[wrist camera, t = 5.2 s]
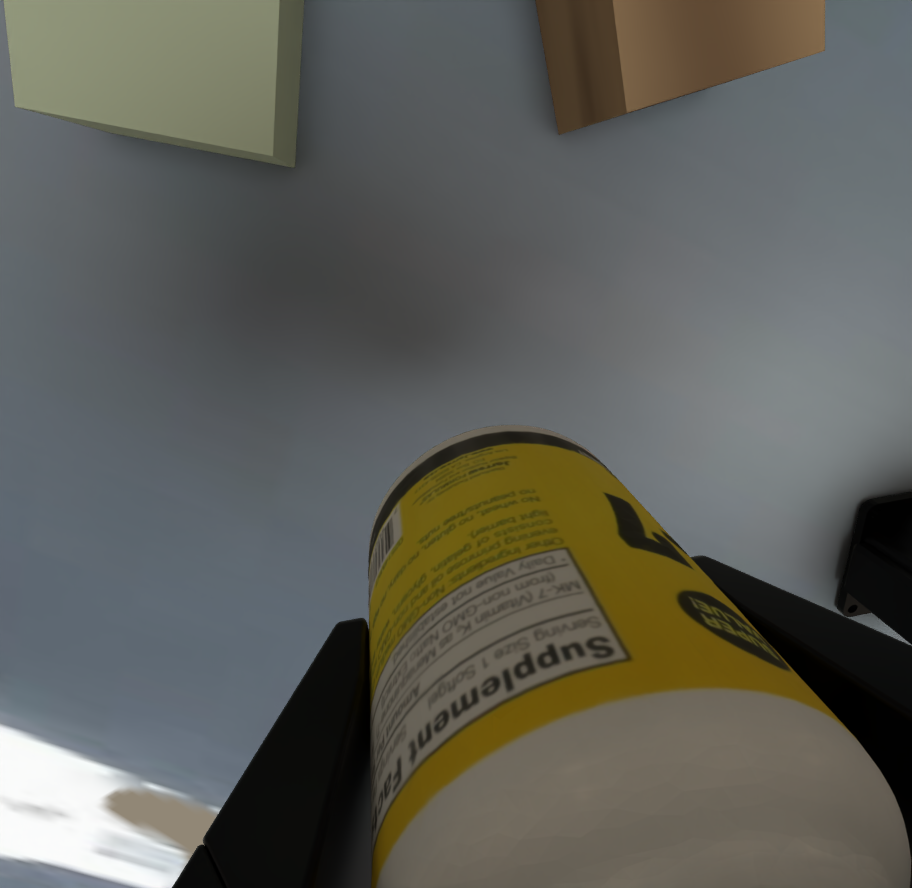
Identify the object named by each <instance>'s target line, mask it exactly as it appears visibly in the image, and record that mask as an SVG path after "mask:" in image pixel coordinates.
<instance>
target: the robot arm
mask: <svg viewBox="0 0 912 888" xmlns="http://www.w3.org/2000/svg"><path fill="white" fill-rule="evenodd" d="M690 558H691V559H692V560H693V561H694V562H695V563H696V564H697V565H698V566H699V567H700V569H701V570H702V571H703V572H704V573H705V574H706V575H707V576H708V577H709V578H710V579H711V580H712V581H713V583H714V584H715V585H716V586H717V587H718V588H719V589H720V590H721V592H722V593H723V594H724V595H725V596H726V597H727V598H728V599H729V600H730V601H731V602H732V603H733V604H734V605H735V606H736V607H737V609H738V610H739V611H740V612H741V613H742V614H743V615H744V617H745V618H746V619H747V620H748V621H749V622H750V623H751V624H752V626H753V627H754V628H755V629H756V630H757V631H758V632H759V633H760V634H761V636H762V637H763V638H764V639H765V640H766V641H767V642H768V643H769V644H770V645H771V646H772V647H773V648H774V649H775V650H776V651H777V652H778V653H779V654H780V656H781V657H782V658H783V659H784V660H785V661H786V662H787V663H788V665H789V666H790V667H791V668H792V669H793V670H794V671H795V672H796V673H797V674H798V676H799V677H800V678H801V679H802V680H803V681H804V682H805V683H806V684H807V685H808V686H809V687H810V689H811V690H812V691H813V692H814V693H815V694H816V695H817V696H818V697H819V698H820V699H821V701H822V702H823V703H824V704H825V705H826V706H827V707H828V708H829V709H830V710H831V711H832V712H833V714H834V715H835V716H836V717H837V718H838V719H839V720H840V721H841V722H842V723H843V724H844V725H845V727H846V728H847V729H848V730H849V731H850V732H851V733H852V734H853V735H854V736H855V738H856V739H857V740H858V741H859V743H860V744H861V745H862V747H863V748H864V749H865V751H866V752H867V753H868V755H869V756H870V757H871V759H872V760H873V761H874V763H875V764H876V765H877V767H878V768H879V769H880V771H881V773H882V774H883V776H884V778H885V779H886V781H887V783H888V784H889V786H890V788H891V790H892V792H893V794H894V796H895V798H896V801H897V803H898V806H899V808H900V811H901V814H902V817H903V820H904V823H905V828H906V832H907V837H908V842H909V848H910V855H911V878H910V888H912V646H911V645H912V492H910V493H904V494H899V495H893V496H888V497H882V498H877V499H871V500H868V501H866V502H865V503H864V504H863V505H862V506H861V508H860V510H859V514H858V518H857V522H856V526H855V531H854V535H853V539H852V544H851V548H850V552H849V557H848V561H847V565H846V570H845V574H844V578H843V582H842V587H841V591H840V595H839V600H838V604H837V609H838V610H839V611H840V612H841V613H842V614H843V615H844V616H846V617H844V616H842V615H840V614H837V613H835V612H833V611H831V610H828V609H826V608H824V607H821V606H819V605H817V604H815V603H812V602H810V601H808V600H805V599H803V598H801V597H798V596H796V595H794V594H792V593H789V592H787V591H785V590H782V589H780V588H778V587H776V586H773V585H771V584H769V583H766V582H764V581H762V580H759V579H757V578H755V577H753V576H750V575H748V574H746V573H743V572H741V571H739V570H736V569H734V568H732V567H730V566H727V565H725V564H723V563H720V562H718V561H716V560H714V559H711V558H709V557H706V556H694V557H690ZM867 613H873V614H874V615H875V616H877V617H878V618H879V619H880V620H882V621H883V622H884V623H885V624H887V625H888V626H889V627H890V628H892V629H893V630H894V631H895V632H897V633H898V634H899V635H900V636H902V637H903V638H904V639H905V640H907V641H908V642H909V643H910V644H911V645H909V644H906V643H904V642H902V641H899V640H897V639H895V638H893V637H890V636H888V635H886V634H883V633H881V632H879V631H876V630H874V629H872V628H870V627H867V626H865V625H863V624H860V623H858V622H856V621H854V620H851V619H849V618H847V617H852V616H857V615H862V614H867ZM203 843H204V845H205V846H204V845H199V846H198V847H197V848H196V850H195V852H194V853H193V855H192V857H191V858H190V860H189V861H188V863H187V865H186V866H185V868H184V869H183V871H182V873H181V874H180V876H179V878H178V879H177V881H176V882H175V884H174V885H173V887H172V888H371V876H372V866H371V776H370V689H369V629H368V625H367V622H366V620H365V619H364V618H357V619H352V620H346V621H341V622H339V623H337V624H336V625H335V627H334V628H333V630H332V632H331V633H330V635H329V637H328V638H327V640H326V641H325V643H324V645H323V646H322V648H321V649H320V651H319V653H318V654H317V656H316V657H315V659H314V661H313V662H312V664H311V666H310V667H309V669H308V670H307V672H306V674H305V675H304V677H303V678H302V680H301V682H300V683H299V685H298V686H297V688H296V690H295V691H294V693H293V694H292V696H291V698H290V699H289V701H288V703H287V704H286V706H285V707H284V709H283V711H282V712H281V714H280V715H279V717H278V719H277V720H276V722H275V723H274V725H273V727H272V728H271V730H270V732H269V733H268V735H267V736H266V738H265V740H264V741H263V743H262V744H261V746H260V748H259V749H258V751H257V752H256V754H255V756H254V757H253V759H252V761H251V762H250V764H249V765H248V767H247V769H246V770H245V772H244V773H243V775H242V777H241V778H240V780H239V781H238V783H237V785H236V786H235V788H234V790H233V791H232V793H231V794H230V796H229V798H228V799H227V801H226V802H225V804H224V806H223V807H222V809H221V810H220V812H219V814H218V815H217V817H216V818H215V820H214V822H213V823H212V825H211V827H210V828H209V830H208V831H207V833H206V835H205V836H204V838H203Z"/></svg>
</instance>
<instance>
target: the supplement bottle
mask: <svg viewBox="0 0 912 888" xmlns="http://www.w3.org/2000/svg"><path fill="white" fill-rule="evenodd" d="M368 578H369V604H368V605H369V689H370V776H371V866H372V876H371V888H910V878H911V855H910V848H909V842H908V837H907V832H906V828H905V823H904V820H903V817H902V814H901V811H900V808H899V806H898V803H897V801H896V798H895V796H894V794H893V792H892V790H891V788H890V786H889V784H888V783H887V781H886V779H885V778H884V776H883V774H882V773H881V771H880V769H879V768H878V767H877V765H876V764H875V763H874V761H873V760H872V759H871V757H870V756H869V755H868V753H867V752H866V751H865V749H864V748H863V747H862V745H861V744H860V743H859V741H858V740H857V739H856V738H855V736H854V735H853V734H852V733H851V732H850V731H849V730H848V729H847V728H846V727H845V725H844V724H843V723H842V722H841V721H840V720H839V719H838V718H837V717H836V716H835V715H834V714H833V712H832V711H831V710H830V709H829V708H828V707H827V706H826V705H825V704H824V703H823V702H822V701H821V699H820V698H819V697H818V696H817V695H816V694H815V693H814V692H813V691H812V690H811V689H810V687H809V686H808V685H807V684H806V683H805V682H804V681H803V680H802V679H801V678H800V677H799V676H798V674H797V673H796V672H795V671H794V670H793V669H792V668H791V667H790V666H789V665H788V663H787V662H786V661H785V660H784V659H783V658H782V657H781V656H780V654H779V653H778V652H777V651H776V650H775V649H774V648H773V647H772V646H771V645H770V644H769V643H768V642H767V641H766V640H765V639H764V638H763V637H762V636H761V634H760V633H759V632H758V631H757V630H756V629H755V628H754V627H753V626H752V624H751V623H750V622H749V621H748V620H747V619H746V618H745V617H744V615H743V614H742V613H741V612H740V611H739V610H738V609H737V607H736V606H735V605H734V604H733V603H732V602H731V601H730V600H729V599H728V598H727V597H726V596H725V595H724V594H723V593H722V592H721V590H720V589H719V588H718V587H717V586H716V585H715V584H714V583H713V581H712V580H711V579H710V578H709V577H708V576H707V575H706V574H705V573H704V572H703V571H702V570H701V569H700V567H699V566H698V565H697V564H696V563H695V562H694V561H693V560H692V559H691V558H690V557H689V556H688V555H687V553H686V552H685V551H684V550H683V549H682V548H681V547H680V546H679V545H678V544H677V543H676V542H675V541H674V540H673V539H672V538H671V537H670V536H669V534H668V533H667V532H666V531H665V530H664V529H663V528H662V527H661V526H660V524H659V523H658V522H657V521H656V520H655V519H654V518H653V517H652V516H651V515H650V514H649V512H648V511H647V510H646V509H645V508H644V507H643V506H642V505H641V504H640V503H639V502H638V501H637V499H636V498H635V497H634V496H633V495H632V494H631V493H630V492H629V491H628V490H627V488H626V487H625V486H624V485H623V484H622V483H621V482H620V481H619V480H618V479H617V478H616V477H615V476H614V475H613V474H612V473H611V472H610V471H609V470H608V468H607V467H606V466H605V465H604V464H603V463H602V462H601V461H600V460H598V459H597V458H596V457H595V456H594V455H593V454H592V453H591V452H590V451H588V450H587V449H586V448H584V447H583V446H581V445H579V444H578V443H576V442H574V441H573V440H571V439H569V438H567V437H565V436H562V435H560V434H558V433H555V432H553V431H550V430H546V429H542V428H538V427H531V426H522V425H501V426H492V427H485V428H480V429H476V430H472V431H468V432H465V433H462V434H460V435H457V436H455V437H452V438H450V439H448V440H446V441H444V442H442V443H440V444H439V445H437V446H435V447H433V448H432V449H430V450H429V451H427V452H426V453H425V454H423V455H422V456H421V457H419V458H418V459H417V460H416V461H415V462H413V463H412V464H411V465H410V466H409V467H408V468H407V469H406V470H405V471H404V472H403V473H402V474H401V475H400V476H399V477H398V479H397V480H396V481H395V482H394V484H393V485H392V486H391V488H390V489H389V491H388V492H387V494H386V496H385V497H384V499H383V501H382V503H381V505H380V507H379V509H378V511H377V514H376V516H375V520H374V523H373V527H372V531H371V536H370V543H369V569H368Z"/></svg>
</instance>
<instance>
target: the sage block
mask: <svg viewBox="0 0 912 888" xmlns="http://www.w3.org/2000/svg"><path fill="white" fill-rule="evenodd" d="M4 9H5V18H6V27H7V36H8V46H9V55H10V64H11V73H12V83H13V92H14V101H15V107H18V108H22V109H26V110H29V111H33V112H37V113H40V114H44V115H48V116H51V117H55V118H58V119H62V120H66V121H69V122H73V123H77V124H80V125H84V126H88V127H91V128H95V129H98V130H102V131H106V132H109V133H114V134H119V135H124V136H129V137H135V138H140V139H145V140H150V141H156V142H161V143H166V144H171V145H177V146H182V147H187V148H193V149H198V150H203V151H208V152H214V153H219V154H224V155H229V156H235V157H240V158H245V159H250V160H256V161H261V162H266V163H272V164H277V165H282V166H287V167H293V168H295V159H296V141H297V122H298V104H299V86H300V68H301V50H302V32H303V14H304V0H4Z"/></svg>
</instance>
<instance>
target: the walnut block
mask: <svg viewBox="0 0 912 888" xmlns="http://www.w3.org/2000/svg"><path fill="white" fill-rule="evenodd" d="M535 2H536V7H537V13H538V19H539V25H540V30H541V36H542V42H543V47H544V53H545V59H546V65H547V70H548V76H549V82H550V87H551V93H552V99H553V104H554V110H555V116H556V122H557V127H558V133H559V135H560V134H563V133H566V132H570V131H573V130H576V129H579V128H582V127H586V126H589V125H592V124H595V123H598V122H602V121H605V120H608V119H611V118H614V117H617V116H621V115H624V114H627V113H630V112H633V111H637V110H640V109H643V108H646V107H649V106H653V105H656V104H659V103H662V102H665V101H669V100H672V99H675V98H678V97H681V96H685V95H688V94H691V93H694V92H697V91H701V90H704V89H707V88H710V87H713V86H716V85H719V84H723V83H726V82H729V81H732V80H735V79H738V78H741V77H744V76H748V75H751V74H754V73H757V72H760V71H763V70H766V69H769V68H772V67H776V66H779V65H782V64H785V63H788V62H791V61H794V60H797V59H801V58H804V57H807V56H810V55H813V54H816V53H819V52H822V51H825V0H535Z"/></svg>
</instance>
